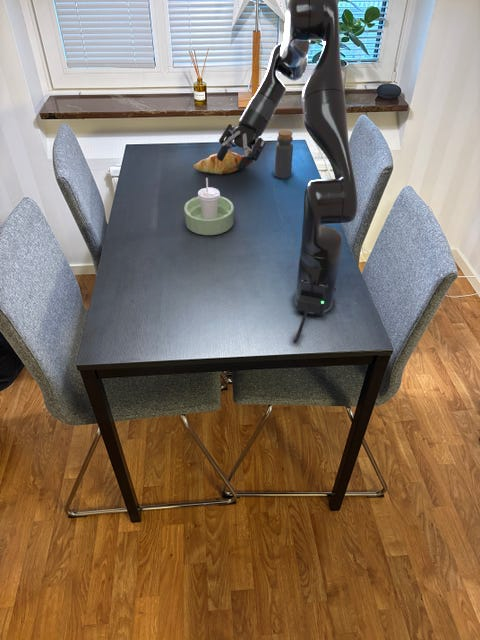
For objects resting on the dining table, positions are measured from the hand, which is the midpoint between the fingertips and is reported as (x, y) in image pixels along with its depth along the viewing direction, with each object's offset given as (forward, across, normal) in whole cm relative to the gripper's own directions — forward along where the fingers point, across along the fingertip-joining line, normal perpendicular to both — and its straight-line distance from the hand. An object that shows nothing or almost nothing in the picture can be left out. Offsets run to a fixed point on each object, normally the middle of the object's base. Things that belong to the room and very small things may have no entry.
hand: (228, 164), depth 147 cm
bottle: (-10, -6, +33) cm, 35 cm away
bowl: (+17, 0, +6) cm, 18 cm away
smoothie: (+17, 0, +6) cm, 18 cm away
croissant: (-2, -23, +25) cm, 34 cm away
